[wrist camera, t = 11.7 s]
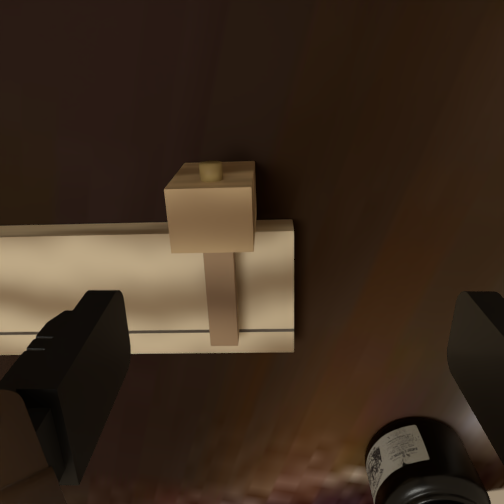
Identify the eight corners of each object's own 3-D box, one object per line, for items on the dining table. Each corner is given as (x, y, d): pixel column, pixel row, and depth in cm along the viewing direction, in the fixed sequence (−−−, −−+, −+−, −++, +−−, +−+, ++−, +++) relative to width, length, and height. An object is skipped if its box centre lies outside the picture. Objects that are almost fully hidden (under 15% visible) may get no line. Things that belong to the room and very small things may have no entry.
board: (-74, 227, 35) (-98, 239, 33) (292, 219, 34) (294, 231, 32) (-37, 337, 39) (-57, 355, 37) (292, 334, 38) (293, 352, 36)
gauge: (183, 148, 32) (162, 172, 26) (254, 146, 32) (250, 169, 26) (198, 315, 38) (184, 368, 31) (259, 314, 37) (257, 368, 31)
